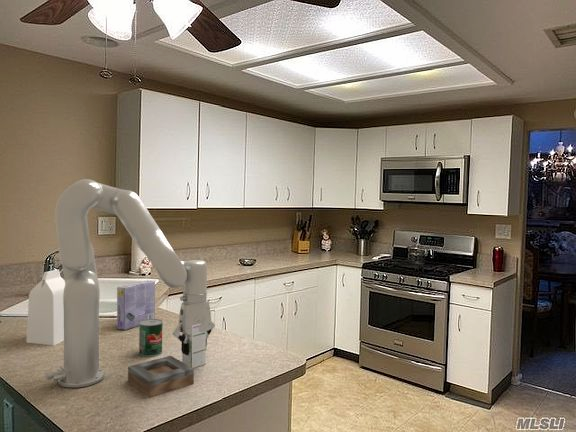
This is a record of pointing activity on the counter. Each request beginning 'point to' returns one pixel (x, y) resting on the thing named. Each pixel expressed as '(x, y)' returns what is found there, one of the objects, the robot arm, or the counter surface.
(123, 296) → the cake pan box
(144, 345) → the canned tomato
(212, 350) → the counter surface
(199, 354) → the syrup box
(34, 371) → the counter surface
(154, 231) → the robot arm
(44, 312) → the milk
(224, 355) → the counter surface
